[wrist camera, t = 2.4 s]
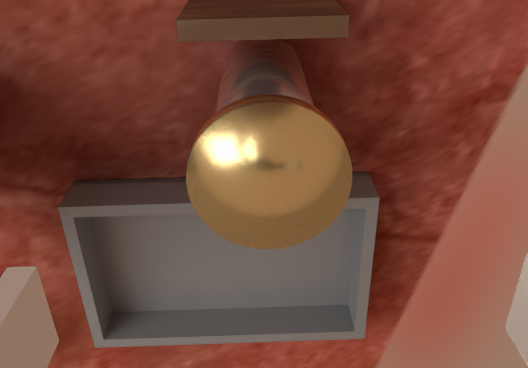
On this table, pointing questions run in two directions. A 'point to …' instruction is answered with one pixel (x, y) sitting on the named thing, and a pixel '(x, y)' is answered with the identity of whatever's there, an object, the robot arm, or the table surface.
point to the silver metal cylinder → (267, 153)
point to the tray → (211, 270)
